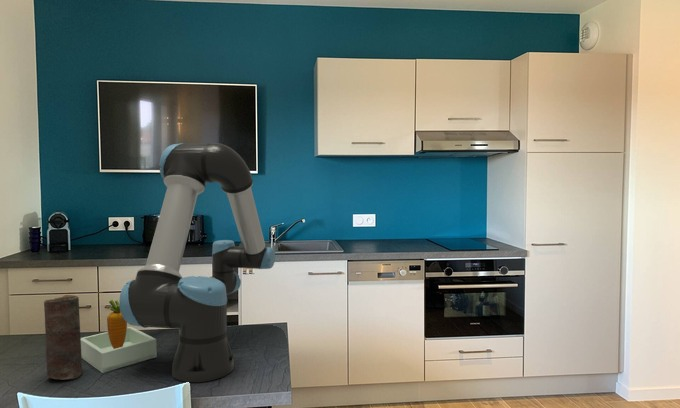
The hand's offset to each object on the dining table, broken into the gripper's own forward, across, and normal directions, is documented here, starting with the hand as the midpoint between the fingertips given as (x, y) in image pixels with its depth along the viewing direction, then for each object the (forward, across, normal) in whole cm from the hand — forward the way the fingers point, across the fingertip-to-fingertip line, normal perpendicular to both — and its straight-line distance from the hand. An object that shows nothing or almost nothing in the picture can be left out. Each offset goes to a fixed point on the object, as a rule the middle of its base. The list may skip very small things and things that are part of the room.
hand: (148, 304), depth 130 cm
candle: (+24, 0, -12) cm, 27 cm away
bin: (+10, 0, -12) cm, 16 cm away
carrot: (+10, 0, -11) cm, 15 cm away
